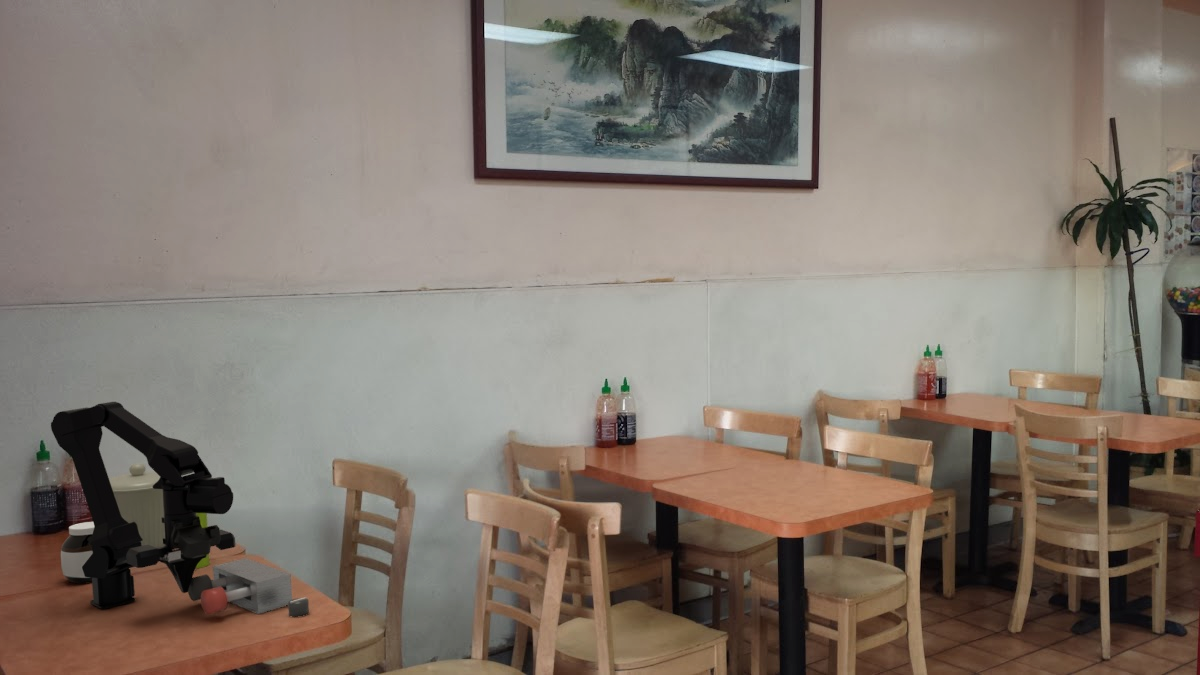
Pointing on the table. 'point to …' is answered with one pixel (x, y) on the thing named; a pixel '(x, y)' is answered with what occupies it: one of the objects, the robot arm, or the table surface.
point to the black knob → (203, 585)
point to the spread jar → (77, 552)
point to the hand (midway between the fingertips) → (184, 592)
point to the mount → (256, 584)
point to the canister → (141, 503)
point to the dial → (298, 607)
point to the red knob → (221, 598)
